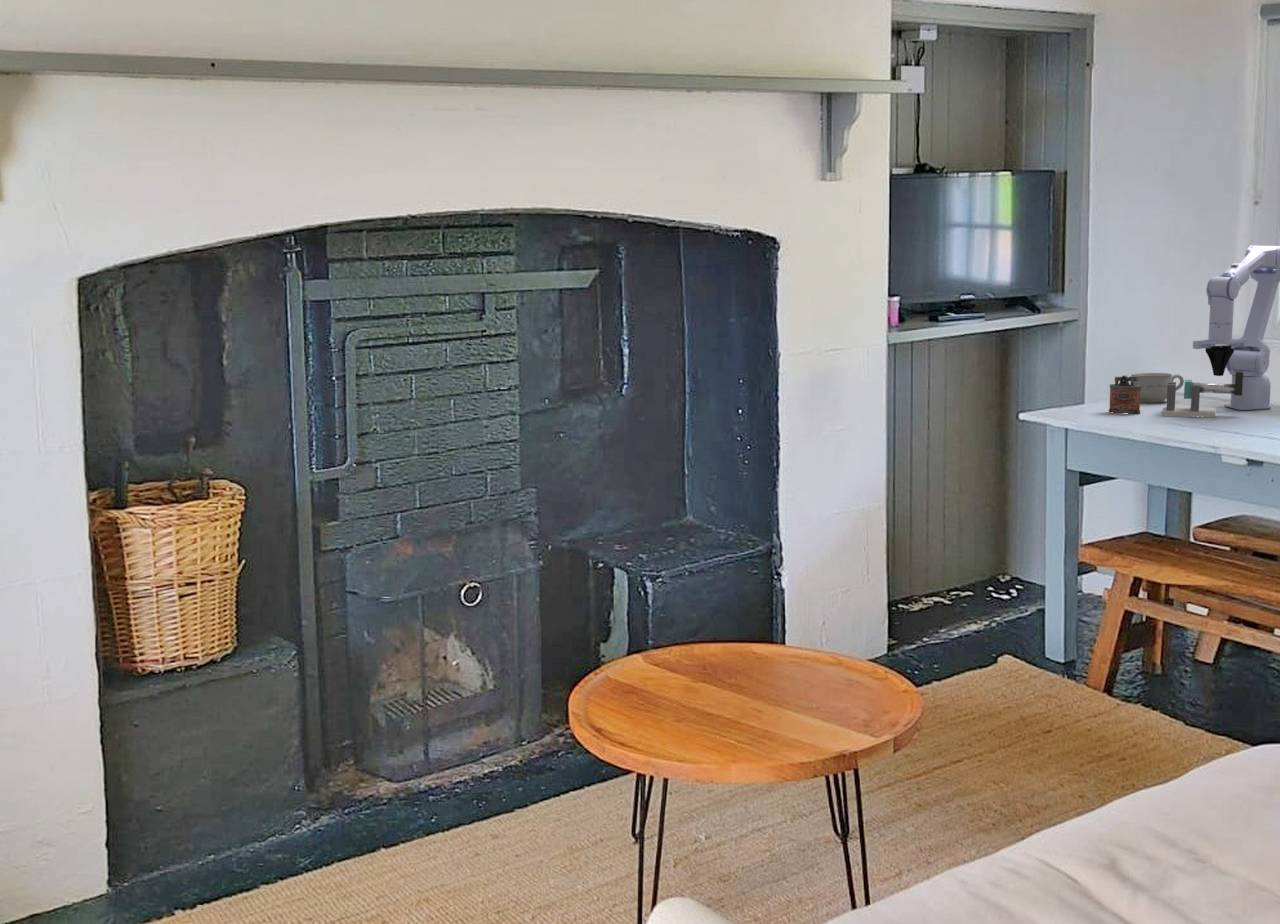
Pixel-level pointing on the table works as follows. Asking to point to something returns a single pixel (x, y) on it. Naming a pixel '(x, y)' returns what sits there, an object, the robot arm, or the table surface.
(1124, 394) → the lighter
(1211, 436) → the table surface
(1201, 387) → the shaft
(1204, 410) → the shaft stand
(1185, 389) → the spacer
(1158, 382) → the teacup
